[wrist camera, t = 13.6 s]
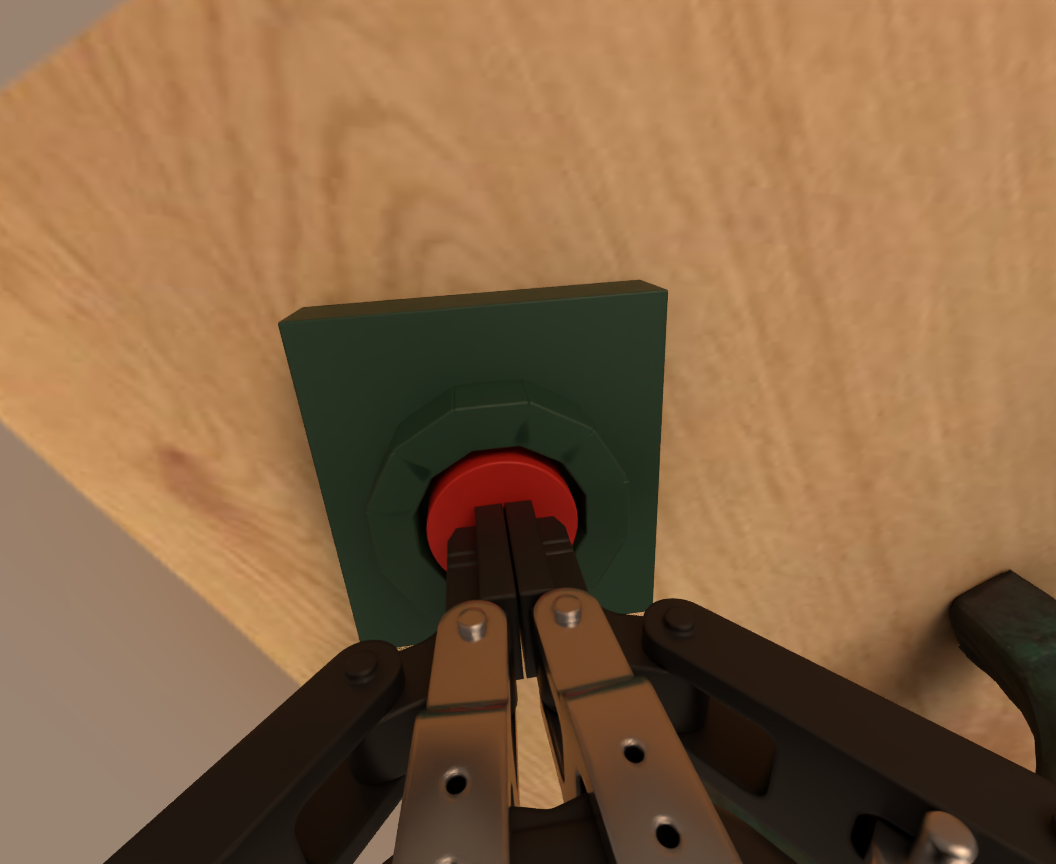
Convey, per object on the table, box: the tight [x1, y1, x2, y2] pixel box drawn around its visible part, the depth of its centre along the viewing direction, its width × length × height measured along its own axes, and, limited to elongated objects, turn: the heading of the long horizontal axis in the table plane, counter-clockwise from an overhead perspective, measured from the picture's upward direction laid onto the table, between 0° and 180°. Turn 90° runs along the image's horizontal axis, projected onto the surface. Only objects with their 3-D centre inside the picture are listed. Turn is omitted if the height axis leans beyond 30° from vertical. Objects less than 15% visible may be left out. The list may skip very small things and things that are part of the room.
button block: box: [278, 280, 668, 647], centre depth 15 cm, size 11×10×4 cm
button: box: [426, 446, 578, 571], centre depth 14 cm, size 4×4×2 cm
